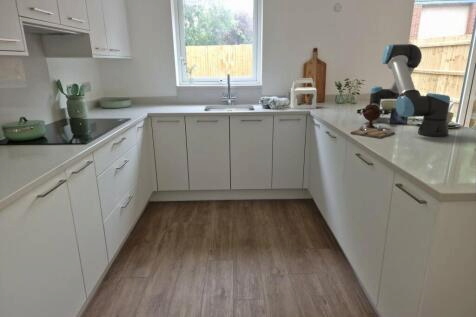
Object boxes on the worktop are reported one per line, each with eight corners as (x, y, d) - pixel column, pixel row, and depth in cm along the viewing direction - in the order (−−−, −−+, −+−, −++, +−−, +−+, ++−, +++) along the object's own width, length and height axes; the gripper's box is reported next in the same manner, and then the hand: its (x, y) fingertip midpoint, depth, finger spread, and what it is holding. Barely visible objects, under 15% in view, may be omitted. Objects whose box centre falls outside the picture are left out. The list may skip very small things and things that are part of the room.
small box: (389, 124, 219) (391, 108, 216) (389, 122, 225) (391, 107, 222) (407, 124, 215) (409, 109, 212) (406, 123, 221) (408, 108, 218)
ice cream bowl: (371, 129, 203) (374, 105, 199) (358, 126, 213) (359, 104, 208) (383, 127, 208) (385, 104, 204) (369, 125, 217) (371, 102, 213)
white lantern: (292, 109, 300) (293, 78, 292) (290, 107, 313) (290, 77, 305) (316, 108, 301) (317, 77, 293) (312, 106, 313) (313, 77, 305)
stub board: (394, 133, 190) (395, 127, 189) (379, 138, 179) (380, 132, 178) (366, 129, 203) (366, 123, 202) (350, 133, 192) (351, 127, 191)
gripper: (392, 115, 228) (391, 120, 210) (355, 113, 239) (351, 118, 220) (393, 104, 226) (393, 108, 208) (356, 103, 237) (352, 107, 218)
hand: (371, 113), depth 214 cm, fingers open, 13 cm apart
